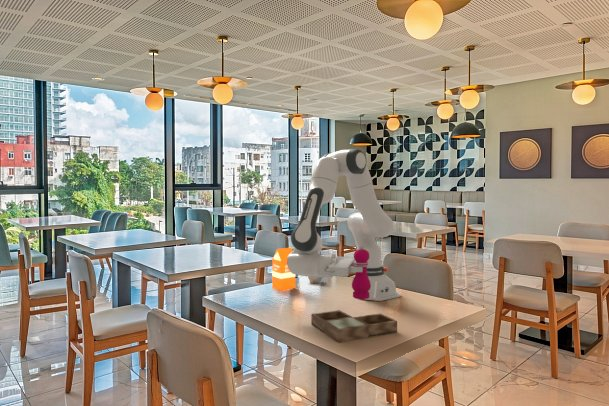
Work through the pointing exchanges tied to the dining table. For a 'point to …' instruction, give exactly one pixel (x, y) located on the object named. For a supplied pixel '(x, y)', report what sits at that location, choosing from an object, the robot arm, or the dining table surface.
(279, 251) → the orange juice
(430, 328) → the dining table surface
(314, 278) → the die
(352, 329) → the box
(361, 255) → the pepper mill
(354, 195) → the robot arm
